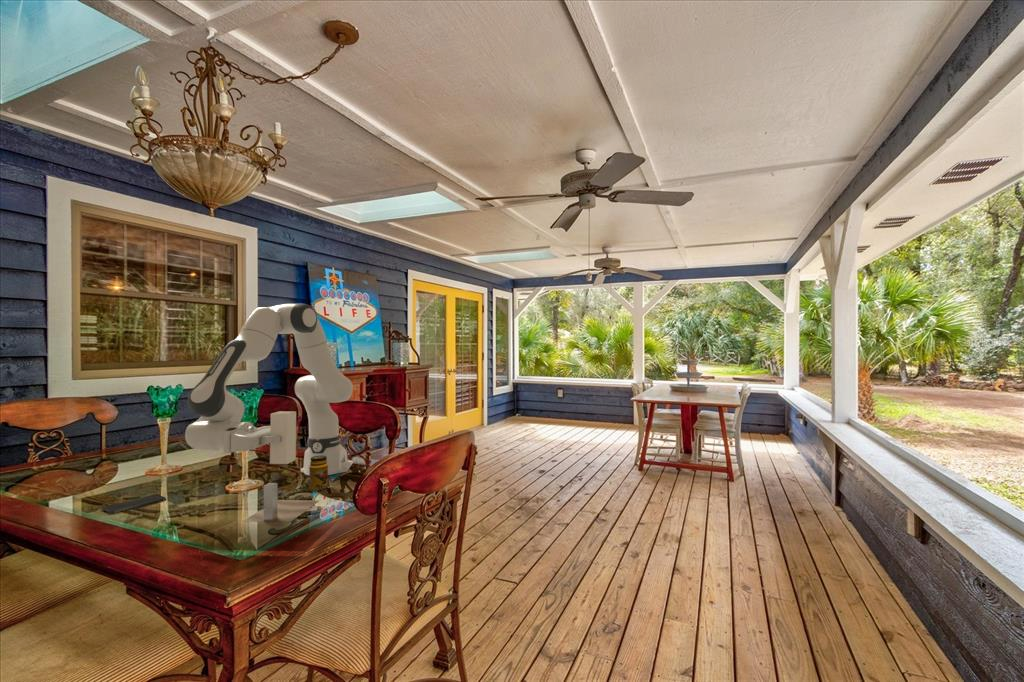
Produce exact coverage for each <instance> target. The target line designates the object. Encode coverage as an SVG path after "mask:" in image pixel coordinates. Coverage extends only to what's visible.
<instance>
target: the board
mask: <svg viewBox="0 0 1024 682" xmlns="http://www.w3.org/2000/svg"><path fill="white" fill-rule="evenodd" d="M318 502H319V500H311V499H310V500H306V499H304V500H303V499H300V500H299V499H298V500H297V499H295V500H294V499H291V500H290V499H277V518H276V519H274V520H273V521H264V507H263V508H262V509H260V510H258V511H257V512H255V513H254V514H252V515H250V516H248V517H247V518H246V519H244V520H243V522H253V523H254V522H258V523H259V522H261V523H262V522H265V523H268V522H269V523H272V522H273V523H274V522H276V523H291V522H293V521H294V520H295V519H297V518H298V517H299V516H301V515H302V514H303V513H305V512H306V511H307V510H309V509H310V508H312V507H313V506H315V505H316V504H317V503H318Z"/></svg>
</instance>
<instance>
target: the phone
mask: <svg viewBox="0 0 1024 682" xmlns="http://www.w3.org/2000/svg"><path fill="white" fill-rule="evenodd" d="M163 500H165V501H166V500H167V497H165V496H162V495H159V494H151V495H146V496H142V497H139V498H134V499H131V500H127V501H126V500H125V501H121V502H118V503H113V504H110V505H106V506H102V507H101V511H102V510H103V511H102V512H104V511H106V512H108V513H115V514H118V513H117V512H119V513H121V512H120V511H123V512H126V511H125V510H127V511H129V510H128V509H131V510H134V509H133V508H135V509H138V508H137V507H139V508H141V507H140V506H143V507H145V506H144V505H147V506H149V505H148V504H151V505H153V504H152V503H155V502H159V501H163ZM163 502H164V501H163ZM159 503H160V502H159ZM155 504H156V503H155ZM106 512H105V513H106ZM108 513H107V514H108Z"/></svg>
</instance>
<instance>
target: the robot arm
mask: <svg viewBox="0 0 1024 682" xmlns="http://www.w3.org/2000/svg"><path fill="white" fill-rule="evenodd" d="M323 328H324V327H323V326H322V324H321V322H320V320H319V318H318V314H317V312H316V310H315V309H314V307H312V305H310V304H306V303H300V302H299V303H283V304H277V305H269V306H267V307H266V306H262V307H257V308H255V309H254V310H253V311H252V312H251V313H250V315H249V317H247V319H246V321H245V322H244V324H243V325H242V327H241V330H240V332H239V333H238V335H237V336H236V338H235V339H233V340H231V341H229V342H228V343H227V344H226V345H225V346H224V347H223V348H222V350H221V351H220V353H219V354H218V355H217V357H216V358H215V360H214V361H213V363H212V364H211V366H210V367H209V369H208V370H207V372H206V374H205V375H204V376H203V378H202V379H201V380H200V381H199V382H198V383H197V384H196V385H195V386H194V387H193V388H192V389H191V391H190V392H189V395H188V397H187V407H188V409H189V411H190V412H191V413H193V414H195V415H198V416H200V417H199V418H198V419H196V420H195V421H194V422H193V423H190V424H188V426H186V429H185V434H184V436H185V437H184V438H185V442H186V443H187V445H188V446H189V447H190V448H191V449H195V450H198V451H205V452H206V451H207V452H209V451H210V452H211V451H212V452H219V451H222V450H223V453H224V454H231V453H235V452H236V453H237V452H247V451H251V450H255V449H257V448H260V447H262V446H265V445H267V444H269V445H270V443H279V442H281V441H282V437H281V436H270V425H265V426H260V427H256V426H254V424H253V423H252V422H250V421H242V420H243V418H244V415H245V412H246V405H245V403H244V402H243V400H242V399H240V398H239V397H237V396H236V395H234V394H233V393H231V392H230V391H228V390H227V387H226V385H227V382H228V381H229V379H230V378H231V376H232V374H233V373H234V371H235V369H236V368H237V366H238V365H239V364H240V363H243V362H249V363H251V362H252V363H253V362H254V363H256V362H260V361H262V360H265V359H266V358H267V357H268V356H269V355H270V353H271V351H272V350H273V348H274V345H275V344H276V340H277V338H278V335H291V334H293V336H294V342H295V345H296V349H297V353H298V356H299V360H300V363H301V365H302V367H303V368H304V369H305V370H307V371H308V372H309V373H311V374H308V375H304V376H301V377H299V378H298V379H297V380H296V382H295V384H294V393H295V395H296V397H297V398H298V399H299V400H300V401H301V402H302V404H303V406H304V409H305V411H306V413H307V418H308V437H307V447H308V448H307V449H305V451H304V457H303V458H304V459H303V467H302V468H300V473H303V474H304V475H306V476H309V466H310V465H311V464H310V462H311V457H313V456H319V455H323V456H326V457H327V464H328V476H330V475H336V474H340V473H346V472H348V471H349V470H350V468H351V467H352V465H353V463H354V461H353V460H350V459H348V450H346V448H345V447H344V446H343V445H342V444H341V440H342V439H343V433H341V434H340V433H339V417H338V416H339V415H338V414H337V413H336V412H334V410H333V409H332V408H331V405H330V404H331V403H332V404H337V403H342V402H347V401H348V400H349V399H350V398H351V397H352V395H353V392H354V385H353V383H352V380H351V379H350V378H348V377H347V376H345V375H344V374H343V373H342V372H341V371H340V369H339V368H338V367H337V365H336V363H335V362H334V360H333V357H332V355H331V352H330V348H329V345H328V340H327V337H326V333H325V331H324V329H323Z"/></svg>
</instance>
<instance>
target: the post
mask: <svg viewBox="0 0 1024 682" xmlns="http://www.w3.org/2000/svg"><path fill="white" fill-rule="evenodd" d="M277 500H278V482H268V483H266V484H264V485H263V508H264V521H273V520H274V519H276V518H277Z"/></svg>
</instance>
